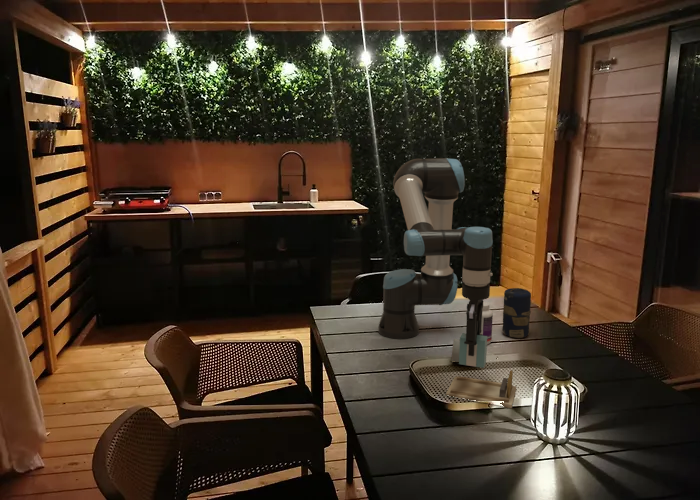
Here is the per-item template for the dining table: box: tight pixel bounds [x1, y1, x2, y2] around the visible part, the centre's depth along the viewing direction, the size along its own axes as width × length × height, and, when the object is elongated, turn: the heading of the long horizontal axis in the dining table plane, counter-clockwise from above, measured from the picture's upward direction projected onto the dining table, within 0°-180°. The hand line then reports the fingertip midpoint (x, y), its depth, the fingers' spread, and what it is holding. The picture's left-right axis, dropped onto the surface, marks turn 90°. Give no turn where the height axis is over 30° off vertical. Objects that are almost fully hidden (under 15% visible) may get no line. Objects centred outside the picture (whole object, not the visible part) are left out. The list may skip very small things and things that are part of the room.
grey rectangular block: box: [451, 338, 460, 362], centre depth 181 cm, size 11×8×8 cm
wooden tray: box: [445, 370, 517, 409], centre depth 158 cm, size 18×12×7 cm, turn 68°
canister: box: [501, 287, 532, 339], centre depth 203 cm, size 10×10×18 cm
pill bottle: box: [480, 301, 494, 345], centre depth 196 cm, size 8×8×14 cm
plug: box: [458, 332, 488, 369], centre depth 157 cm, size 7×4×8 cm, turn 68°
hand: (472, 362), depth 158 cm, fingers closed on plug, 4 cm apart
